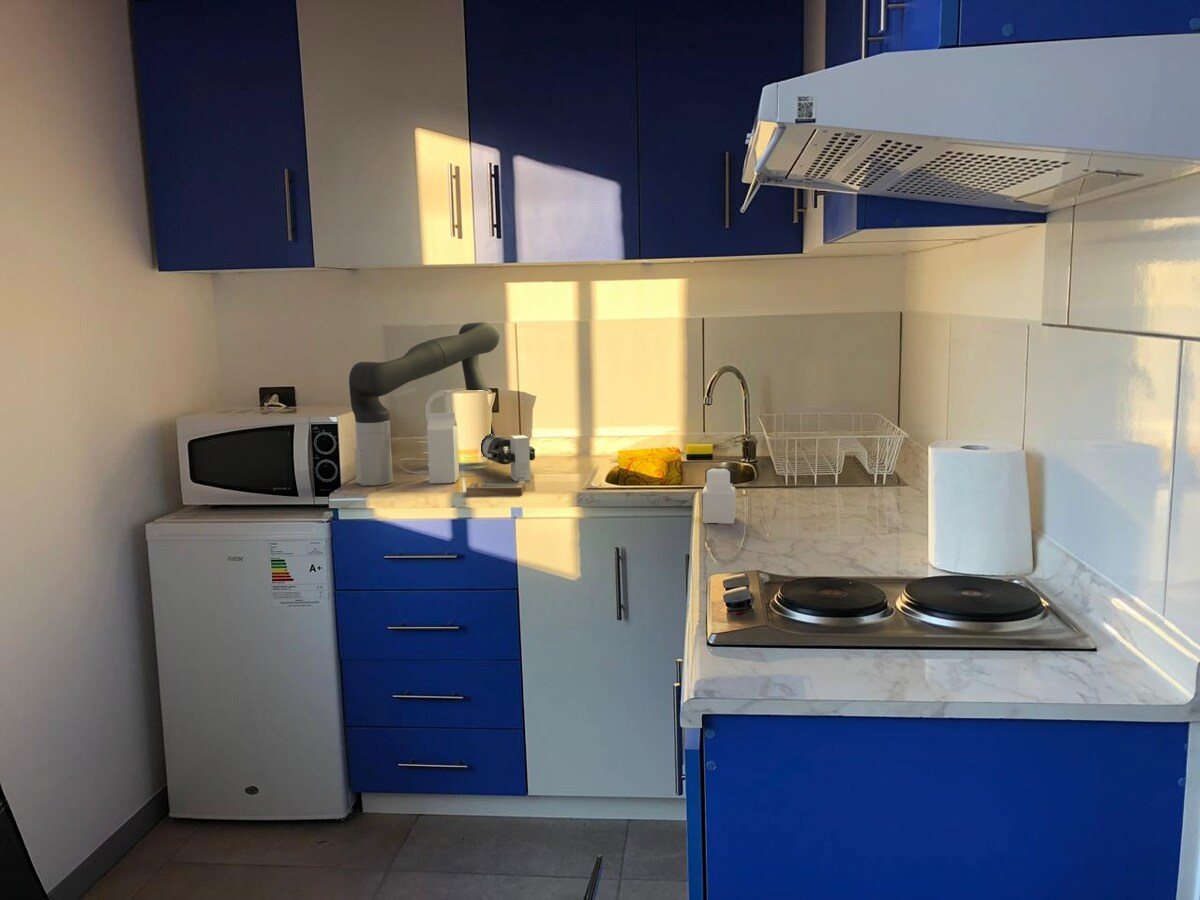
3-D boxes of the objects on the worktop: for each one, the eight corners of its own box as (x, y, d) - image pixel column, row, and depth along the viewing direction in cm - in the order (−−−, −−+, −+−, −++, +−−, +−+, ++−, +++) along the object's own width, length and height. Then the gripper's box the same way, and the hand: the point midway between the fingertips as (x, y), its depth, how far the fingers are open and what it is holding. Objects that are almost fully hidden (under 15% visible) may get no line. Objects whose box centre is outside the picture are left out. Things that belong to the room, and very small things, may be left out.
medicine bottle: (703, 516, 240) (703, 465, 238) (735, 517, 239) (735, 465, 237) (701, 523, 233) (701, 470, 232) (734, 524, 232) (734, 470, 230)
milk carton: (455, 483, 286) (452, 414, 283) (429, 484, 286) (426, 414, 283) (459, 478, 293) (456, 411, 290) (433, 479, 293) (431, 411, 290)
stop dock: (478, 482, 287) (477, 475, 287) (529, 482, 287) (528, 474, 286) (467, 496, 269) (466, 488, 268) (521, 495, 268) (521, 487, 268)
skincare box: (530, 480, 288) (529, 437, 287) (515, 481, 287) (514, 438, 285) (525, 477, 294) (524, 434, 292) (510, 478, 293) (509, 435, 291)
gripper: (476, 438, 298) (498, 446, 283) (522, 434, 305) (547, 441, 290) (476, 464, 299) (499, 473, 285) (523, 460, 306) (547, 468, 291)
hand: (523, 457), depth 287 cm, fingers closed on skincare box, 5 cm apart
